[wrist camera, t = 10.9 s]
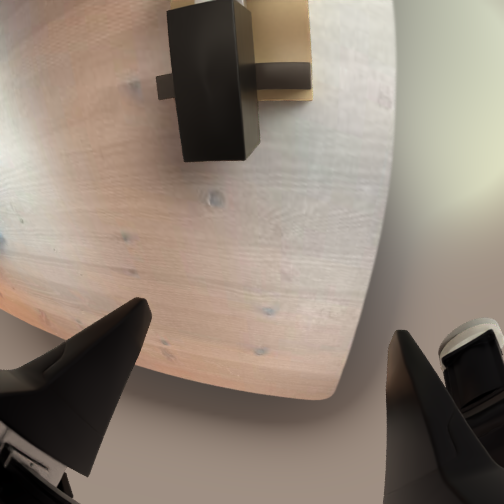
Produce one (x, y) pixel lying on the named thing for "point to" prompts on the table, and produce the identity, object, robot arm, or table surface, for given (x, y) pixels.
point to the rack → (272, 50)
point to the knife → (214, 80)
